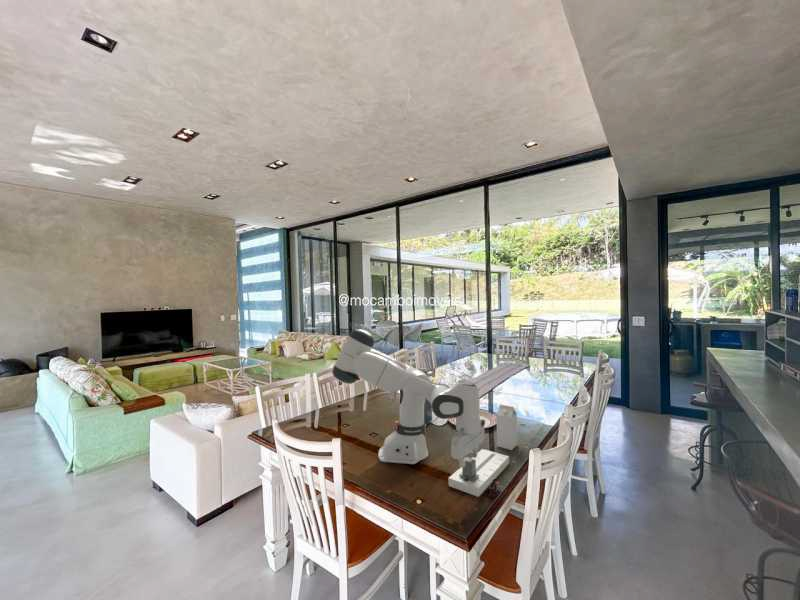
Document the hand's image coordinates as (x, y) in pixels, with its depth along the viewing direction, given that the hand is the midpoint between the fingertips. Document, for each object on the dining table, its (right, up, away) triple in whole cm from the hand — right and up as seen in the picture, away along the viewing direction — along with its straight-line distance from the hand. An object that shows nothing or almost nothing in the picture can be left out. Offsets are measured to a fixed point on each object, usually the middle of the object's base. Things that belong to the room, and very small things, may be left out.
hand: (468, 461), depth 126 cm
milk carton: (+25, -9, +33) cm, 43 cm away
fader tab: (0, -5, 0) cm, 5 cm away
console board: (+6, -9, +8) cm, 14 cm away
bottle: (-12, -9, +68) cm, 70 cm away
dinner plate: (+15, -9, +63) cm, 66 cm away
